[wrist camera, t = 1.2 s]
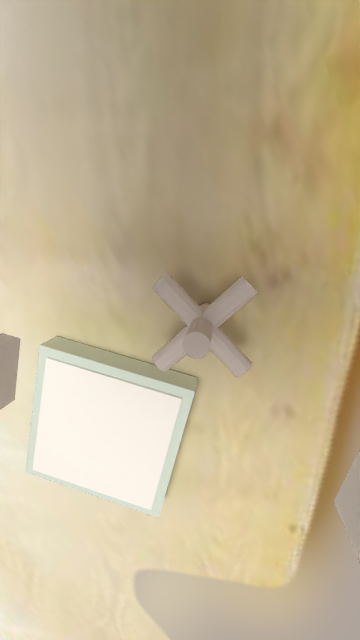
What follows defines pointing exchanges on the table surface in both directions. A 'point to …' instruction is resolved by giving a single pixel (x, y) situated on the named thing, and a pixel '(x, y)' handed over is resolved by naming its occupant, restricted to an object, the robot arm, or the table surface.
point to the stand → (107, 423)
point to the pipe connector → (203, 325)
